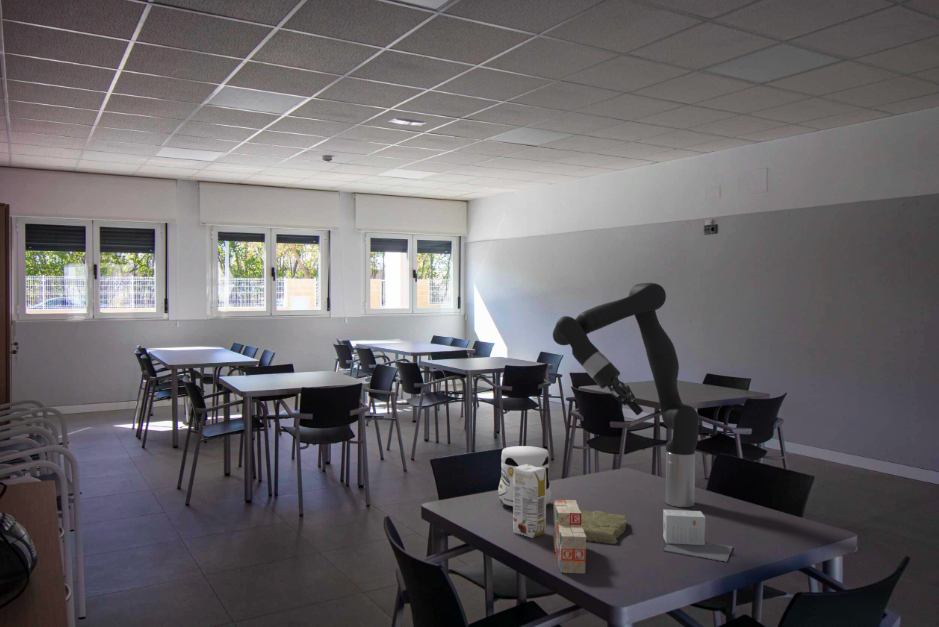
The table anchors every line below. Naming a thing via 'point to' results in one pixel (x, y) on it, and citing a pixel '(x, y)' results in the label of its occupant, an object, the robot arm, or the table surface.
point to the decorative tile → (602, 526)
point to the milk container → (517, 458)
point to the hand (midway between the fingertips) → (640, 413)
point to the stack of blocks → (569, 537)
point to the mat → (702, 550)
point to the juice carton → (529, 500)
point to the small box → (684, 527)
